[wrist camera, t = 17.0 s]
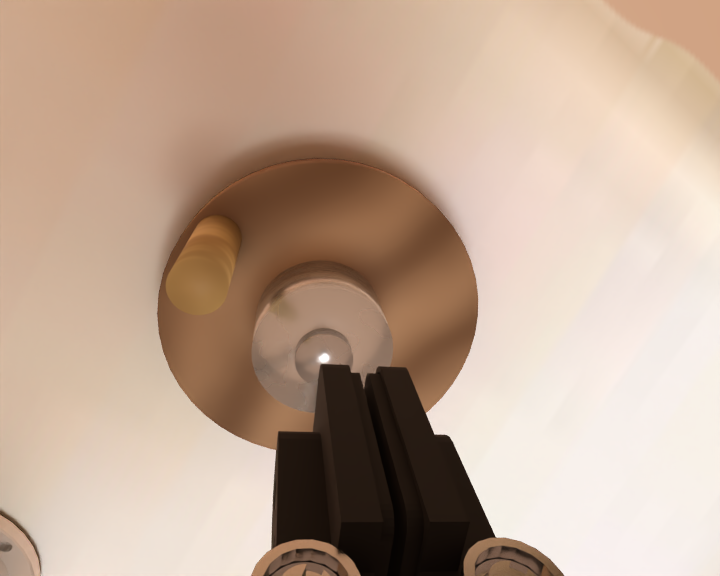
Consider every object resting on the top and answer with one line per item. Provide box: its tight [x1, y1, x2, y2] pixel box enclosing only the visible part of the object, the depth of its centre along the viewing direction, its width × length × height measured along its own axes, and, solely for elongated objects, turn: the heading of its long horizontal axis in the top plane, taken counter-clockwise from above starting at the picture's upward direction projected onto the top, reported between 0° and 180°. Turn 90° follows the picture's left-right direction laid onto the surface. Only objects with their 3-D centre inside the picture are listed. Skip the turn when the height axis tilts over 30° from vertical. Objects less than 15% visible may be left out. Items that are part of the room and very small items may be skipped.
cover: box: [252, 260, 393, 413], centre depth 28 cm, size 7×7×5 cm
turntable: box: [157, 158, 478, 450], centre depth 28 cm, size 18×18×8 cm
